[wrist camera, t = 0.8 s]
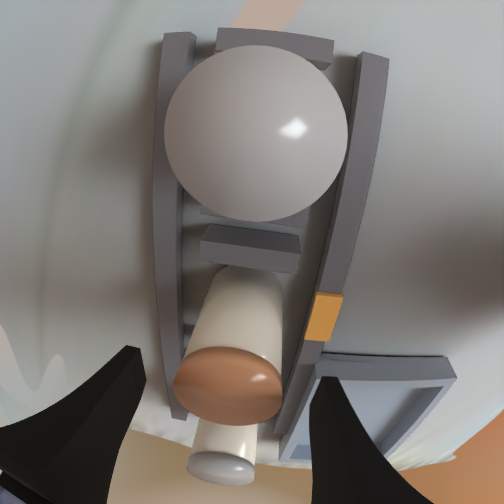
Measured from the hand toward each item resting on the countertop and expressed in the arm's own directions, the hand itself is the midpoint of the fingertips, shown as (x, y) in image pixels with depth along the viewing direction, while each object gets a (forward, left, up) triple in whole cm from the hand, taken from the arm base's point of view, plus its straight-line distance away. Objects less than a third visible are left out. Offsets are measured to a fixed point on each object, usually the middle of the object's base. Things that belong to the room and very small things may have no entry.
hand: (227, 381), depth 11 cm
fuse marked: (0, 0, -6) cm, 6 cm away
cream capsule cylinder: (0, -9, -6) cm, 11 cm away
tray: (-10, +10, -6) cm, 15 cm away
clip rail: (0, 0, -6) cm, 6 cm away
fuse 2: (0, +9, -6) cm, 11 cm away
